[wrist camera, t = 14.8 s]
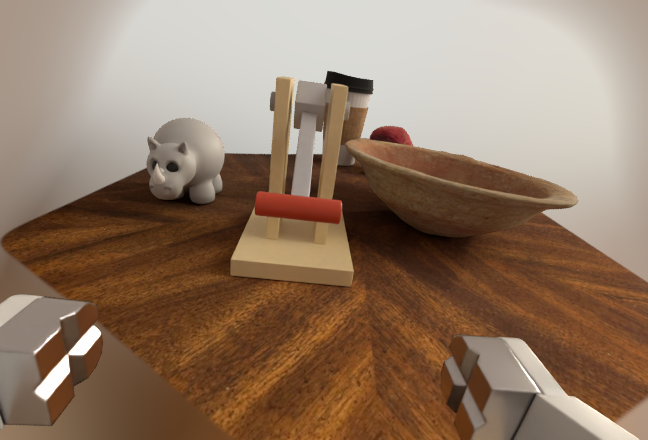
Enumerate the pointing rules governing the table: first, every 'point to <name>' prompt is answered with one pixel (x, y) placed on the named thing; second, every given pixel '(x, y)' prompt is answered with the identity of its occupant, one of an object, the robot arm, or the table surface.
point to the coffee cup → (358, 110)
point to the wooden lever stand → (297, 235)
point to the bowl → (453, 189)
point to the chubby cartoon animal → (185, 161)
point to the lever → (303, 166)
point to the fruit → (391, 135)
